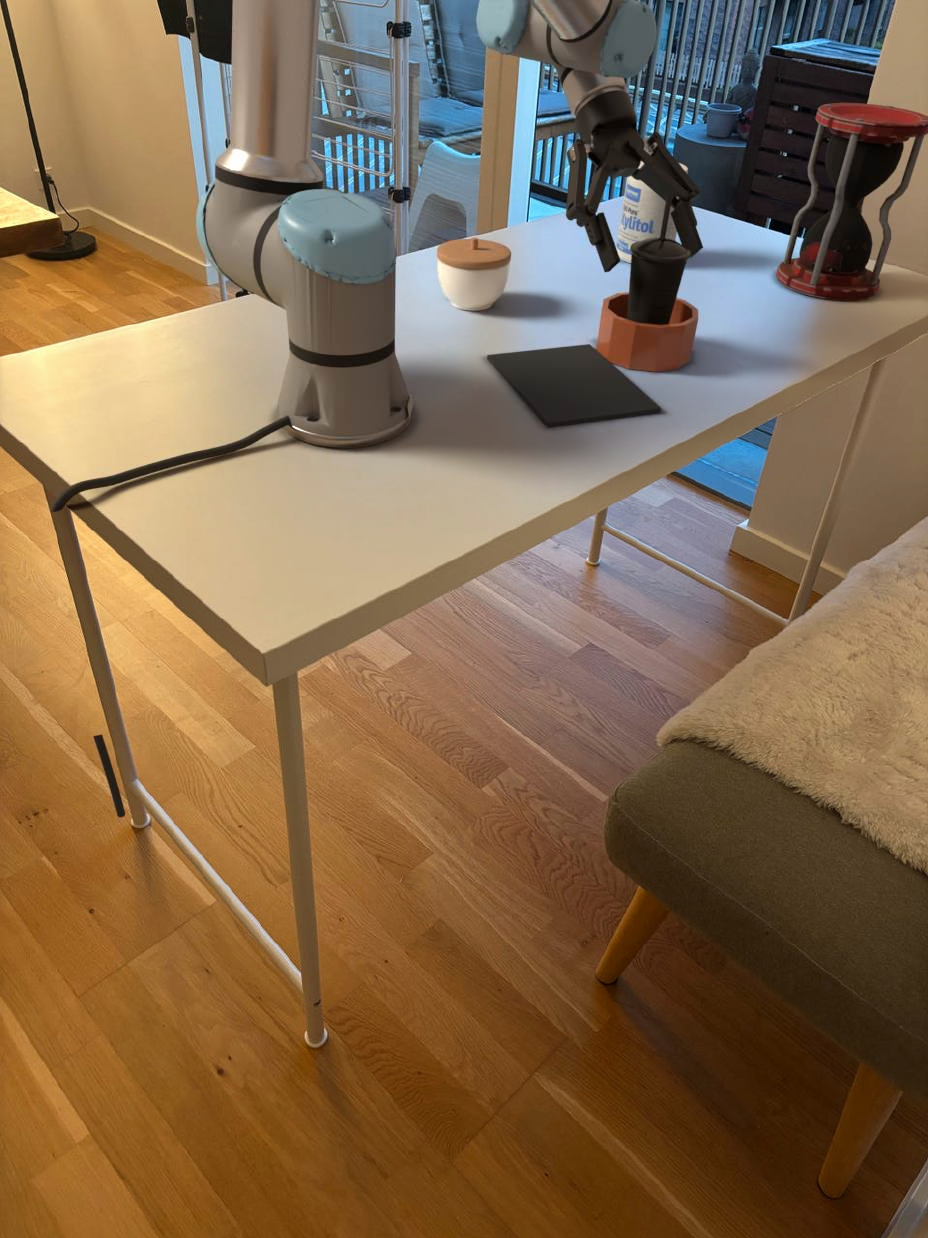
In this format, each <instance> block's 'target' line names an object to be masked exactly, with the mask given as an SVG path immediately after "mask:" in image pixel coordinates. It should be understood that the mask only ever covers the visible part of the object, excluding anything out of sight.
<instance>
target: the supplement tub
mask: <svg viewBox="0 0 928 1238" xmlns="http://www.w3.org/2000/svg"><path fill="white" fill-rule="evenodd" d="M678 163H679V164H680V165H681V167H682V168H683V169H684V170H685V172H686V173H687V174H688V172H689V168H688V167H687V165H685V164H683V163H680V162H678ZM643 165H644V163H643V162H642V161H641V163H640V166H639V168H641V167H642V166H643ZM676 198H677V199H679V197H678V196H676ZM665 204H666V201H664V200H663V199H662V198H661V197H660V196H659V195H658V194H656V193H655V192H654V191H653V190H652V189H651V188H649V187H648V186H647V185H646V184H645V183H644V182H642V181H641V180H636V179H634V178H633V177H632V176H630V177H626V184H625V190H624V197H623V202H622V209H621V216H620V221H619V229H618V235H617V241H616V242H617V243H616V249H617V252H618V255H619V258H620V260H622V261H623V262H625V263H627V264H631V256H632V254H631V252H630V246H631V245H632V244H633V243H635V242H638V241H642V240H644V239H647V238H653V237H660V233H661V227H662V221H663V216H664V210H665ZM673 210H674V208H673V207H670V213H669V219H668V224H667V230H666V236H665V238H668V239H672V240H674V241H676V240H677V239H676V238H677V235H678V233H677V230H676V227H675V225H674V222H673V219H672V216H671V212H672V211H673Z"/></svg>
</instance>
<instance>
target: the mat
mask: <svg viewBox="0 0 928 1238" xmlns="http://www.w3.org/2000/svg"><path fill="white" fill-rule="evenodd" d="M486 359H487V361H488V362H489V363H490V364H491V365H492V366H493V367H494V369H495V370H496V371H497V372H498V373H499V374H500V375H501V376H502V378H503V379H504V380H505V382H507V384H509V386H511V388H512V389H513V391H515V392H516V393H517V395H518V396H519V397H520V398H521V399H522V400H523V402H524V403H525V404H526V405H527V406H528V407H529V408H530V409H531V411H533V412H534V414H535V415H537V417H538V418H539V420H541V421H542V423H543V424H544V425H545V426H546V428H553V427H554V428H555V427H561V426H568V425H576V424H582V423H583V424H584V423H591V422H597V421H598V422H599V421H604V420H613V419H619V418H621V419H622V418H628V417H635V416H643V415H651V414H659V413H661V412H662V407H661V406H660V405H658V403H656V401H654V400H653V399H652V398H651V397H649V395H648V394H646V392H644V391H643V390H642V389H641V388H640V387H639V386H638V385H636V384H635V383H634V382H633V381H632V380H630V379H629V377H627V376H626V375H625V374H624V373H622V371H621V370H620V369H618V368H617V367H616V365H615V364H613V363H611V362H609V361H608V360H607V359H606V358H605V357H604V356H602V355H601V354H600V353H599V352H598V351H597V350H596V348H595V347H594V346H592V345H591V343H585V344H577V345H567V346H560V347H559V346H558V347H548V348H540V349H539V348H538V349H529V350H522V351H521V350H519V351H513V352H512V351H511V352H503V353H493V354H492V353H491V354H487V355H486Z"/></svg>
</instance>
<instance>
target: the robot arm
mask: <svg viewBox="0 0 928 1238" xmlns="http://www.w3.org/2000/svg"><path fill="white" fill-rule="evenodd" d="M477 5H478V8H477V14H476V16H475V17H476V18H475V21H476V30H477V34H478V38H479V39H480V41H481V43H482V44H483V45H484V46H485V47H486V48H488V49H490V50H491V51H495V52H498V53H499V54H501V55H502V56H503V55H506V56H512V57H516V58H520V59H525V60H529V61H534V62H539V63H542V64H545V65H549V66H553V67H554V69H555V71H556V74H557V77H558V79H559V82H560V84H561V85H560V86H561V88H562V90H563V94H564V95H565V96H564V97H565V99H566V102H567V105H568V109H569V111H570V114H571V116H572V117H573V118H574V125H575V128H576V131H577V134H578V138H577V139H576V140H575V141H574V142H573V143H572V145H571V146H570V147H569V148H568V150H567V151H566V159H567V161H568V166H569V172H568V183H567V194H566V197H567V198H566V207H565V208H566V209H565V218H566V219H567V220H568V221H571V222H572V221H574V220H575V222H576V225H577V226H578V227H580V228H583V227H584V229H585V232H586V235H587V237H588V241H589V243H590V245H591V246H592V247H595V250H596V251H597V252H596V253H597V255H598V258H599V261H600V265H601V267H602V269H603V272H604V273H610V272H611V271H612V270H613V269H614V268H615V267H616V266H617V265H618V264H619V263H620V262H621V260H622V259H620V258H619V255H618V252H617V249H616V247H617V245H616V243H615V241H614V238H613V235H612V233H611V229H610V226H609V224H608V220H607V217H606V216H605V212H604V211H603V212H602V211H601V212H598V209H599V207H600V204H601V202H602V198H603V195H604V192H605V189H606V186H607V183H608V180H609V178H610V180H613V179H617V178H619V177H621V178H627V177H630V176H632V177H633V178H634V179H636V180H641V181H642V182H644V183H645V184H646V185H647V186H648V187H649V188H651V189H652V190H653V191H654V192H655V193H656V194H658V195H659V196H660V197H661V198H662V199H663V200H664V201H666V198H667V196H668V195H670V196H672V201H671V207H673V208H674V210H673V211H672V212H671V216H672V219H673V222H674V225H675V227H676V230H677V236H678V239H679V241H680V242H679V243H680V244H681V245H683V246H685V247H686V248H688V249H689V250H690V252H691V254H690V258H689V259H692V258H693V257H694V256H695V255H696V254H697V253H699V252H700V251H702V249H704V245H703V242H702V239H701V237H700V234H699V231H698V228H697V227H698V220H697V217H696V215H695V212H694V209H693V206H692V202H693V201H694V200H695V199H696V198H697V197H698V196H700V194H701V189H700V188H699V187H698V185H697V184H696V183H695V182H694V179H692V178H691V177H690V175H689V174H688V173H686V172H685V170H684V169H683V168H682V167H681V165H680V164H681V163H680V162H679V161H678V160H677V159H676V158H675V156H674V155H673V154H672V153H671V152H670V150H669V149H668V148H667V146H666V145H665V143H664V140H663V138H662V135H661V134H660V132H657V131H654V132H653V133H652V134H651V135H650V136H648V137H644V138H643V137H642V136H641V135H640V133H639V132H638V115H637V113H636V110H635V107H634V105H633V102H632V99H631V96H630V94H629V92H628V87H627V84H626V82H625V81H626V80H625V79H629V78H632V77H635V76H637V75H638V74H640V73H641V72H642V71H643V70H644V68H645V67H646V65H647V64H648V62H649V59H650V57H651V56H652V54H653V52H654V49H655V44H656V40H657V22H656V16H655V13H654V12H653V10H652V8H651V6H649V5H648V4H646V3H645V2H643V1H640V0H639V1H638V0H479V1H478V4H477ZM320 10H321V0H232V17H231V18H232V20H231V22H232V23H231V25H232V26H231V30H232V31H231V72H230V73H231V74H230V75H231V78H230V79H231V81H230V83H231V84H230V129H229V130H230V132H229V133H230V134H229V135H230V136H229V145H228V147H227V149H225V150H224V151H223V152H222V153H220V155H218V156H217V157H216V158H215V162H214V169H215V170H214V180H213V181H211V183H209V185H208V188H207V190H206V191H205V192H204V193H202V194H201V197H200V199H199V202H198V206H197V209H196V217H195V226H196V234H197V235H196V236H197V239H198V243H199V246H200V248H201V250H202V253H203V254H204V257H205V258H206V259H207V261H208V262H209V264H210V265H211V266H212V268H213V269H214V270H216V271H217V272H218V273H219V274H221V275H222V276H223V277H224V278H226V279H227V280H228V281H229V282H230V283H232V284H233V285H234V286H236V287H238V288H239V289H241V290H245V291H248V292H250V293H251V294H254V295H256V296H258V297H260V298H262V299H264V300H266V301H268V302H269V303H271V304H273V305H275V306H277V307H280V308H281V309H282V310H284V311H285V313H286V322H287V323H286V324H287V334H288V346H289V347H288V348H289V357H288V360H287V364H286V368H285V371H284V375H283V379H282V383H281V387H280V392H279V396H278V404H277V413H278V419H276V420H275V421H273V422H271V423H269V424H267V425H265V426H263V427H261V428H259V429H258V430H256V431H254V432H252V433H250V434H249V435H247V436H245V437H244V438H241V439H239V440H235V441H233V442H230V443H226V444H224V445H219V446H216V447H210V448H206V449H205V448H204V449H201V450H197V451H196V450H195V451H192V452H188V453H184V454H180V455H176V456H172V457H168V458H166V459H162V460H158V461H155V462H151V463H148V464H144V465H140V466H138V467H134V468H131V469H128V470H125V471H122V472H119V473H116V474H112V475H108V476H103V477H96V478H90V479H85V480H82V481H79V482H76V483H74V484H72V485H70V486H68V487H67V488H65V489H64V490H62V492H60V494H59V495H58V496H57V497H56V498H55V499H54V501H53V503H52V505H51V507H50V509H49V512H51V513H57V512H60V511H62V510H63V509H64V508H65V506H66V504H68V502H69V501H70V500H71V499H73V498H74V497H75V496H76V495H79V494H80V493H84V492H87V491H90V490H96V489H102V488H108V487H111V486H112V487H113V486H116V485H119V484H122V483H125V482H128V481H131V480H134V479H138V478H140V477H144V476H146V475H149V474H154V473H157V472H161V471H164V470H167V469H172V468H175V467H178V466H182V465H186V464H189V463H193V462H197V461H203V460H207V459H212V458H215V457H220V456H224V455H228V454H231V453H235V452H238V451H240V450H243V449H245V448H247V447H250V446H252V445H253V444H256V443H257V442H259V441H260V440H263V439H264V438H265V437H267V436H269V435H271V434H273V433H275V432H277V431H279V430H281V429H283V430H284V431H285V432H286V433H287V434H289V435H290V436H292V437H294V438H295V439H297V440H300V441H302V442H306V443H308V444H312V445H316V446H321V447H329V448H361V447H367V446H368V447H369V446H373V445H377V444H380V443H383V442H387V441H389V440H391V439H394V438H395V437H397V436H399V435H400V434H402V433H403V432H404V431H406V429H407V428H408V426H409V425H410V424H411V420H412V411H413V407H414V402H413V401H414V400H413V393H412V392H410V393H409V390H408V387H407V385H406V381H405V379H404V375H403V372H402V370H401V366H400V364H399V361H398V357H397V354H396V275H397V274H396V273H397V270H396V268H397V267H396V266H397V265H396V264H397V257H398V255H397V249H396V243H395V242H396V241H395V231H394V225H393V221H392V219H391V217H390V216H389V214H388V212H386V210H385V209H384V208H383V207H382V206H381V205H379V204H378V203H376V202H375V201H373V200H371V199H369V198H367V197H365V196H363V195H359V194H356V193H353V192H347V193H344V192H341V190H338V189H337V190H336V189H324V174H323V172H322V171H321V170H320V168H319V167H318V165H317V163H315V162H314V160H313V158H312V146H313V145H312V144H313V129H314V127H313V126H314V125H313V124H314V114H315V113H314V111H315V110H314V109H315V95H316V94H315V91H316V80H317V79H316V78H317V77H316V75H317V62H318V46H319V26H320V14H321V13H320V12H321V11H320ZM588 160H589V161H590V162H591V163H592V164H594V165H595V168H594V171H593V174H592V176H591V179H590V180H591V183H590V186H589V188H588V191H587V193H585V192H586V185H587V184H586V183H587V171H588V170H587V169H588ZM641 161H642V162H643V163H644V165H643V166H642V167H641V168H639V166H640V163H641ZM679 163H680V164H679ZM585 195H586V196H585ZM676 196H678V197H679V199H677V198H676ZM597 212H598V213H597ZM92 737H93V740H94V743H95V747H96V749H97V752H98V756H99V758H100V762H101V765H102V768H103V771H104V774H105V777H106V781H107V785H108V787H109V791H110V794H111V795H110V796H111V798H112V801H113V806H114V809H115V812H116V816H117V817H118V818H120V819H121V818H124V817H125V816H126V810H125V807H124V803H123V799H122V795H121V791H120V788H119V784H118V782H117V781H118V780H117V777H116V774H115V771H114V767H113V764H112V762H111V758H110V755H109V751H108V748H107V745H106V741H105V739H104V735H103V734H97V735H93V736H92Z"/></svg>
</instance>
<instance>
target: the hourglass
mask: <svg viewBox="0 0 928 1238" xmlns="http://www.w3.org/2000/svg"><path fill="white" fill-rule="evenodd" d="M815 120H816V122H817V124H818V125H817V130H816V133H815V137H814V142H813V145H812V150H811V153H810V156H809V159H808V160H809V161H808V165H807V177H808V179H809V182H810V184H811V187H810V196H809V198H808V200H807V203H806V204H805V205H804V206H803V207H801V208H800V210H798V212H797V213H796V215H795V217H794V218H793V219H794V220H793V224H792V227H791V231H790V235H789V239H788V242H787V243H788V244H787V248H786V251H785V254H784V259H783V261H781V262H780V264H779V265H777V269H776V273H775V276H776V281H778V283H779V284H781V285H782V286H783V287H785V288H787V289H789V290H791V291H794V292H797V293H799V294H803V295H806V296H808V297H814V298H819V299H824V300H833V301H861V300H867V299H870V298H871V297H873V296H875V295H877V293H878V290H879V288H880V285H881V283H882V282H881V279H880V275H881V272H882V269H883V266H884V264H885V263H884V262H885V259H886V257H887V253H888V250H889V247H890V244H891V241H892V229H891V226H890V223H889V214H890V210H891V209H892V207H893V204H894V203H895V201H896V200H898V199H899V198H900V197H902V196H903V195H904V194H905V192H906V190H907V189H908V188H909V185H910V182H911V179H912V176H913V173H914V169H915V167H916V163H917V161H918V157H919V154H920V150H921V148H922V144H923V142H924V138H925V136H927V135H928V115H926V114H924V113H921V112H917V111H913V110H910V109H906V108H900V107H895V106H892V105H880V104H875V103H874V104H873V103H862V102H861V103H860V102H835V103H834V102H833V103H826V104H821V106H819V107H818V108H817V111H816V115H815ZM826 128H828V130H829V131H830V133H831V135H830V137H829V140H828V141H827V142H828V143H827V146H826V151H825V157H824V164H825V169H826V173H827V176H828V177H829V180H830V182H831V184H832V185H833V188H834V189H835V195H834V196H835V199H834V203H833V208H832V209H831V210H829V211H828V212H826V213H825V214H824V215H822V216H821V217H820V218H819V219H818V220H816V221H815V222H814V223H813V224H812V226H811V227H809V229H808V230H807V232H806V233H805V234H804V237H803V239H802V242H801V245H800V248H799V252H798V253H799V254H798V257H794V258H793V255H794V251H795V247H796V243H797V239H798V235H799V232H800V227H801V223H802V220H803V219H804V218H805V216H806V215H807V213H808V212H810V211H811V210H812V209H813V208H815V206H816V204H817V202H818V200H819V199H820V196H821V195H820V190H821V189H820V188H821V184H820V182H819V180H818V178H817V173H816V166H817V163H818V162H817V161H818V158H819V155H820V152H821V147H822V143H823V139H824V136H825V132H826ZM912 138H914V140H913V143H912V146H911V150H910V154H909V157H908V160H907V163H906V166H905V169H904V171H903V175H902V178H901V181H900V184H899V186H898V187H897V188H896V189H895V190H894V192H893V193H892V194H890V195H889V196H887V197H886V198H885V199H884V201H883V203H882V205H881V206H880V208H879V214H878V215H879V217H878V223H879V224H880V227H881V229H882V241H881V244H880V247H879V251H878V255H877V258H876V261H875V263H874V266H873V270H871V269H868V268H866V267H867V265H868V263H869V261H870V257H871V255H872V250H873V237H872V233H871V231H870V230H871V229H870V228H869V225H868V223H867V222H866V219H865V218H864V216H863V215H862V213H863V205H864V202H865V198H866V197H868V196H869V195H870V194H871V193H874V192H875V191H876V190H878V189H879V188H880V187H881V186H882V185H883V184H885V183H886V182H887V181H888V180H889V179H890V177H891V176H893V174H894V173H895V172H896V170H897V168H898V166H899V163H900V161H901V159H902V155H903V152H904V147H905V143H904V142H908V141H909V140H910V139H912Z"/></svg>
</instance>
